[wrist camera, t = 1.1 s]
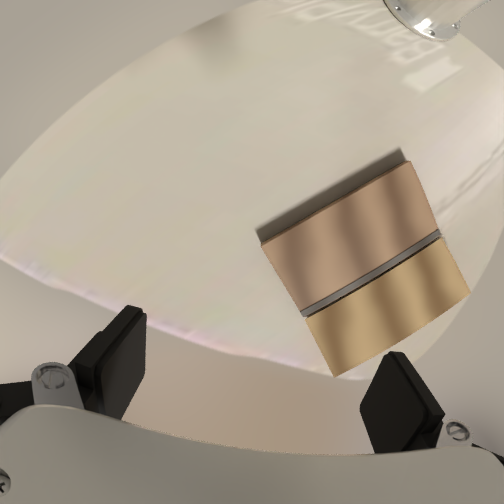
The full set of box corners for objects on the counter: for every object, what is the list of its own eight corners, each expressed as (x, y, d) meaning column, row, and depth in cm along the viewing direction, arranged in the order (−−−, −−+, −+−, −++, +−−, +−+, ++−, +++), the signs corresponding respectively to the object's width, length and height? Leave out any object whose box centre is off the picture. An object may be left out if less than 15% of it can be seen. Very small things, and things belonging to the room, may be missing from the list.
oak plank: (438, 240, 33) (441, 237, 32) (466, 293, 31) (470, 292, 29) (306, 319, 36) (304, 319, 35) (334, 375, 34) (334, 377, 33)
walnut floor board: (405, 161, 31) (410, 160, 30) (434, 232, 33) (440, 235, 32) (260, 243, 35) (260, 246, 33) (302, 311, 37) (303, 317, 35)
